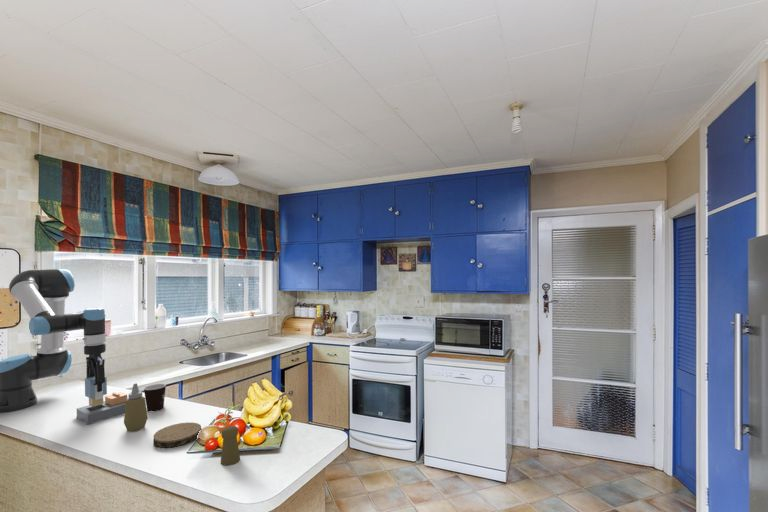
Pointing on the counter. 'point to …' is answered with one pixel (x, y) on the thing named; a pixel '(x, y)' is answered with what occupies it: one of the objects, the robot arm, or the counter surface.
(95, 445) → the counter surface
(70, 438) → the counter surface
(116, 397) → the orange ridged block
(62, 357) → the robot arm
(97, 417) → the socket plate
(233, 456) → the pepper mill
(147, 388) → the coffee mug
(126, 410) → the squeeze bottle
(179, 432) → the brown round disc
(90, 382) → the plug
